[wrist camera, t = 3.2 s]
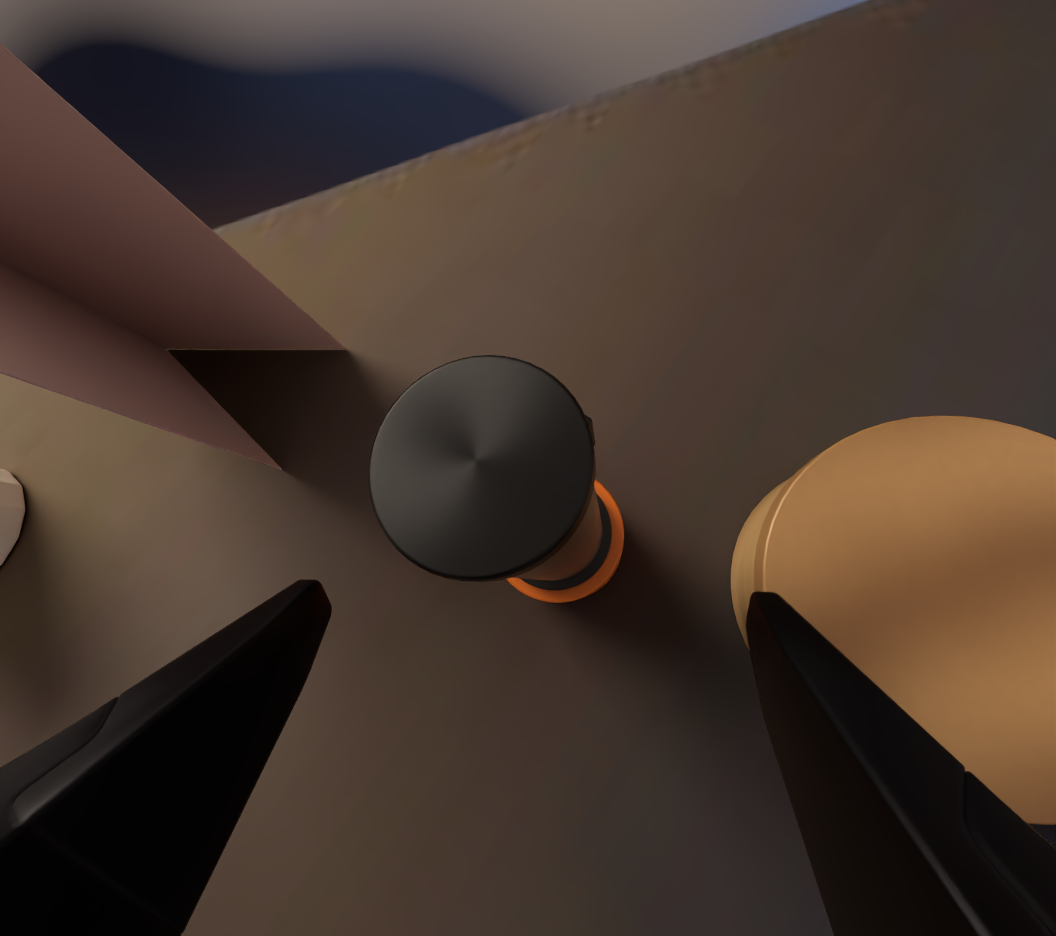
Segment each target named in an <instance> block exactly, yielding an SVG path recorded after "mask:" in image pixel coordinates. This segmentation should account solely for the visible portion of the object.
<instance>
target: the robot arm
mask: <svg viewBox="0 0 1056 936" xmlns="http://www.w3.org/2000/svg"><path fill="white" fill-rule="evenodd" d="M331 612H332V607H331V603H330V601H329V599H328V597H327V595H326V593H325V591H324V589H323V586H322V584H321V583H320V582H319V581H318V580H305V579H303V580H299V581H297V582H295V583H293V584H292V585H290V586H289V587H287V588H286V589H284V590H282V591H281V592H279V593H278V594H276V595H275V596H273V597H272V598H270V599H268V600H267V601H265V602H264V603H262V604H261V605H259V606H257V607H256V608H254V609H253V610H251V611H250V612H248V613H247V614H245V615H243V616H242V617H240V618H239V619H237V620H236V621H234V622H232V623H231V624H229V625H228V626H226V627H225V628H223V629H222V630H220V631H218V632H217V633H215V634H214V635H212V636H211V637H209V638H208V639H206V640H204V641H203V642H201V643H200V644H198V645H197V646H195V647H193V648H192V649H190V650H189V651H187V652H186V653H184V654H183V655H181V656H179V657H178V658H176V659H175V660H173V661H172V662H170V663H168V664H167V665H165V666H164V667H162V668H161V669H159V670H158V671H156V672H154V673H153V674H151V675H150V676H148V677H147V678H145V679H143V680H142V681H140V682H139V683H137V684H136V685H134V686H133V687H131V688H129V689H128V690H126V691H125V692H123V693H122V694H121V695H120V696H119V697H115V698H114V699H112V700H111V701H109V702H107V703H106V704H104V705H103V706H101V707H100V708H98V709H97V710H95V711H94V712H92V713H90V714H89V715H87V716H86V717H84V718H82V719H81V720H79V721H77V722H76V723H74V724H73V725H71V726H69V727H68V728H66V729H65V730H63V731H61V732H60V733H58V734H57V735H55V736H53V737H51V738H50V739H48V740H46V741H45V742H43V743H41V744H40V745H38V746H36V747H35V748H33V749H31V750H30V751H28V752H26V753H25V754H23V755H21V756H19V757H18V758H16V759H14V760H13V761H11V762H9V763H7V764H6V765H4V766H2V767H1V768H0V936H181V934H182V933H183V932H184V930H185V928H186V926H187V924H188V922H189V920H190V918H191V916H192V914H193V912H194V909H195V907H196V905H197V903H198V901H199V899H200V897H201V895H202V893H203V891H204V889H205V887H206V885H207V883H208V881H209V879H210V877H211V875H212V873H213V871H214V869H215V867H216V865H217V863H218V860H219V858H220V856H221V854H222V852H223V850H224V848H225V846H226V844H227V842H228V840H229V838H230V836H231V834H232V832H233V830H234V828H235V826H236V824H237V822H238V820H239V818H240V816H241V813H242V811H243V809H244V807H245V805H246V803H247V801H248V799H249V797H250V795H251V793H252V791H253V789H254V787H255V785H256V783H257V781H258V779H259V777H260V775H261V773H262V771H263V769H264V766H265V764H266V762H267V760H268V758H269V756H270V754H271V752H272V750H273V748H274V746H275V744H276V742H277V740H278V738H279V736H280V734H281V732H282V730H283V728H284V726H285V724H286V722H287V719H288V717H289V715H290V713H291V711H292V709H293V707H294V705H295V703H296V701H297V699H298V697H299V695H300V693H301V691H302V689H303V686H304V684H305V682H306V680H307V677H308V675H309V672H310V670H311V667H312V665H313V662H314V659H315V657H316V654H317V651H318V649H319V646H320V643H321V641H322V638H323V636H324V633H325V630H326V628H327V625H328V622H329V620H330V617H331ZM746 635H747V640H748V645H749V649H750V654H751V659H752V664H753V669H754V674H755V679H756V684H757V689H758V694H759V698H760V703H761V708H762V712H763V716H764V720H765V723H766V726H767V730H768V733H769V736H770V739H771V742H772V745H773V748H774V751H775V754H776V758H777V761H778V764H779V767H780V770H781V773H782V776H783V779H784V782H785V785H786V788H787V792H788V795H789V798H790V801H791V804H792V807H793V810H794V813H795V816H796V819H797V822H798V826H799V829H800V832H801V835H802V838H803V841H804V844H805V847H806V850H807V853H808V856H809V860H810V863H811V866H812V869H813V872H814V875H815V878H816V881H817V884H818V887H819V890H820V894H821V897H822V900H823V903H824V906H825V909H826V912H827V915H828V918H829V921H830V925H831V928H832V931H833V934H834V936H1056V848H1055V847H1054V846H1053V845H1051V844H1050V843H1049V842H1048V841H1047V840H1045V839H1044V838H1043V837H1042V836H1041V835H1040V834H1039V833H1038V832H1037V831H1035V830H1034V829H1033V828H1032V827H1031V826H1030V825H1029V824H1028V823H1027V822H1025V821H1024V820H1023V819H1022V818H1021V817H1020V816H1019V815H1018V814H1016V813H1015V812H1014V811H1013V810H1012V809H1011V808H1010V807H1009V806H1008V805H1006V804H1005V803H1004V802H1003V801H1002V800H1001V799H1000V798H999V797H998V796H996V795H995V794H994V793H993V792H992V791H991V790H990V789H989V788H988V787H987V786H986V785H985V784H984V783H982V782H981V781H980V780H979V779H978V778H977V777H976V776H975V775H974V774H973V773H972V772H970V771H965V767H964V765H963V764H962V763H961V762H959V761H958V760H957V759H956V758H955V757H954V756H953V755H952V754H951V753H950V752H949V751H948V750H947V749H945V748H944V747H943V746H942V745H941V744H940V743H939V742H938V741H937V740H936V739H935V738H934V737H932V736H931V735H930V734H929V733H928V732H927V731H926V730H925V729H924V728H923V727H922V726H921V725H920V724H918V723H917V722H916V721H915V720H914V719H913V718H912V717H911V716H910V715H909V714H908V713H907V712H905V711H904V710H903V709H902V708H901V707H900V706H899V705H898V704H897V703H896V702H895V701H894V700H893V699H891V698H890V697H889V696H888V695H887V694H886V693H885V692H884V691H883V690H882V689H881V688H880V687H878V686H877V685H876V684H875V683H874V682H873V681H872V680H871V679H870V678H869V677H868V676H867V675H866V674H864V673H863V672H862V671H861V670H860V669H859V668H858V667H857V666H856V665H855V664H854V663H853V662H851V661H850V660H849V659H848V658H847V657H846V656H845V655H844V654H843V653H842V652H841V651H840V650H839V649H837V648H836V647H835V646H834V645H833V644H832V643H831V642H830V641H829V640H828V639H827V638H826V637H824V636H823V635H822V634H821V633H820V632H819V631H818V630H817V629H816V628H815V627H814V626H813V625H812V624H810V623H809V622H808V621H807V620H806V619H805V618H804V617H803V616H802V615H801V614H800V613H799V612H797V611H796V610H795V609H794V608H793V607H792V606H791V605H790V604H789V603H788V602H787V601H786V600H785V599H783V598H782V597H781V596H780V595H779V594H777V593H775V592H760V591H756V592H753V593H752V594H751V597H750V601H749V606H748V612H747V617H746Z"/></svg>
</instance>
